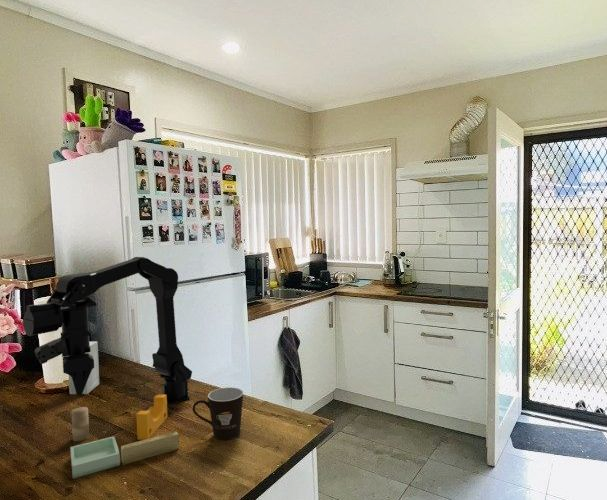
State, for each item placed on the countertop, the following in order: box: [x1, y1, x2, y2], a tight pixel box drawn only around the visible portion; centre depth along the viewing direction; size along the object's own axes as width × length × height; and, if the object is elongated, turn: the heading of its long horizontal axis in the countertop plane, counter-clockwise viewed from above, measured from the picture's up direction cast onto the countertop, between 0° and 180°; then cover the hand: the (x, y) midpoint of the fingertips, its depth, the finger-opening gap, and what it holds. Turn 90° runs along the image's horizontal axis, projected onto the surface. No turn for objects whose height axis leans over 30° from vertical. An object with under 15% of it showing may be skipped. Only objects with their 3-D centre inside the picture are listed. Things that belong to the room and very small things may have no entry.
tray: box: [69, 435, 121, 479], centre depth 92 cm, size 9×9×3 cm
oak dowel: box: [70, 406, 90, 442], centre depth 103 cm, size 4×4×7 cm
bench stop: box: [120, 431, 180, 466], centre depth 94 cm, size 12×2×4 cm, turn 121°
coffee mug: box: [192, 386, 244, 441], centre depth 103 cm, size 12×9×10 cm
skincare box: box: [68, 341, 100, 395], centre depth 134 cm, size 8×6×15 cm
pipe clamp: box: [136, 394, 168, 441], centre depth 107 cm, size 12×4×6 cm, turn 176°
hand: (78, 389), depth 102 cm, fingers open, 7 cm apart
